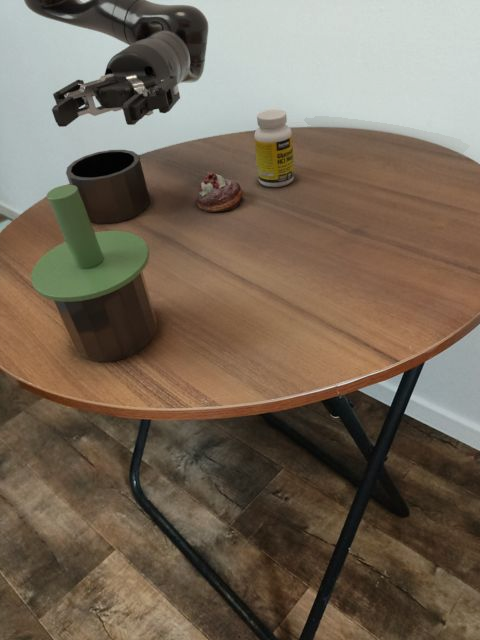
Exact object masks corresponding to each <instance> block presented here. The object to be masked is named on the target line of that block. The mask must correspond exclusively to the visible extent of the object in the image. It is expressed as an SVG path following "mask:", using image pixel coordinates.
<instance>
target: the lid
mask: <svg viewBox="0 0 480 640" xmlns="http://www.w3.org/2000/svg"><path fill="white" fill-rule="evenodd" d="M46 198H47V202H48V203H49V205H50V208H51V210H52V212H53V215H54V217H55V220H56V222H57V224H58V227H59V229H60V232H61V233H62V236H63V238H64V242H61V243H60V244H58V245H56V246H54V247H53V248H52V249H51V250H49V251H47V252H46V253H45V254H44V255H42V256H41V257H40V258H39V259H38V261H37V262H36V263H35V264H34V266H33V268H32V271H31V273H30V281H31V284H32V286H33V287H32V288H33V289H34V291H35V292H36V293H37V294H39V295H40V296H41V297H43V298H44V299H47V300H50V301H52V300H55V301H63V302H74V301H83V300H88V299H93V298H97V297H100V296H103V295H106V294H108V293H111V292H113V291H115V290H117V289H119V288H121V287H123V286H125V285H126V284H128V283H129V282H131V281H132V280H133V279H135V278H136V277H137V276H138V275H139V274H140V273H141V272H143V271H144V270H145V268H146V266H147V265H148V263H149V260H150V250H149V246H148V244H147V242H146V241H145V239H143V238H142V237H140V236H139V235H137V234H135V233H133V232H128V231H123V230H104V231H103V230H101V231H96V232H95V230H94V227H93V225H92V223H91V222H90V220H89V217H88V214H87V212H86V209H85V206H84V204H83V201H82V199H81V196H80V193H79V191H78V188H77V187H76V186H74V185H70V184H64V185H59V186H57V187H53V188H52V189H51V190H49V191H48V192H47V193H46Z"/></svg>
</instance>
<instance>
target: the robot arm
mask: <svg viewBox="0 0 480 640" xmlns="http://www.w3.org/2000/svg"><path fill="white" fill-rule="evenodd" d="M23 1H24V4H25V5H26V7H27V8H28V9H29V10H30V11H31V12H33V13H35V14H36V15H38V16H41V17H43V18H46V19H48V20H53V21H55V22H60V23H63V24H66V25H67V24H68V25H71V26H75V27H77V28H81V29H86V30H91V31H95V32H98V33H101V34H104V35H107V36H109V37H112V38H114V39H116V40H118V41H120V42H122V43H124V44H126V45H128V46H127V47H125V48H123V49H122V50H120V51H119V52H118V53H116V54H114V55H113V56H112V57H111V58H110V59H109V61H108V62H107V66H106V67H105V71H104V74H103V75H102V76H100V77H99V78H98V79H95V80H92V81H88V82H84V80H83V79H75V81H73V82H71V83H69V84H68V85H66V86H64V87H62V88H61V89H59V90H57V91H55V92H54V93H52V96H53V99H54V101H55V105H53V106H52V108H51V112H52V115H53V118H54V121H55V123H56V125H57V126H58V127H59V128H60V127H62V128H64V127H65V128H66V127H68V126H69V125H70V124H71V123H73V122H74V121H75V120H77V119H78V118H79V117H81V116H84V115H87V114H88V115H91V116H93V117H94V116H95V117H96V116H99V115H102V114H105V113H108V112H119V111H121V110H122V111H123V112H122V113H123V115H124V120H125V123H126V124H127V126H135V125H136V124H137V123H138V122H139V121H140V120H142V119H143V118H144V117H145V116H147V117H148V116H151V115H153V114H154V111H155V110H158V112H159V113H160V114H167V113H169V112H170V111H171V110H172V108H173V107H174V106H175V105H176V104H177V102H178V101H179V100H180V99H181V95H180V90H179V84H182V83H184V84H185V83H186V84H191V83H196V82H198V81H199V80H200V79H201V78H202V76H203V73H204V70H205V63H206V55H207V54H206V53H207V48H208V47H207V45H208V39H209V38H208V37H209V21H208V19H207V17H206V15H205V14H204V13H203V12H202V11H201V10H200V9H199V8H197V6H196V7H195V6H193V5H190V4H189V5H187V4H161V3H155V2H151V1H149V0H88V1H85V2H83V1H81V0H23ZM94 97H95V100H96V101H97V103H98V104H99V105H100V106H97V107H96V104H95V101H94ZM82 106H83V107H82Z"/></svg>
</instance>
